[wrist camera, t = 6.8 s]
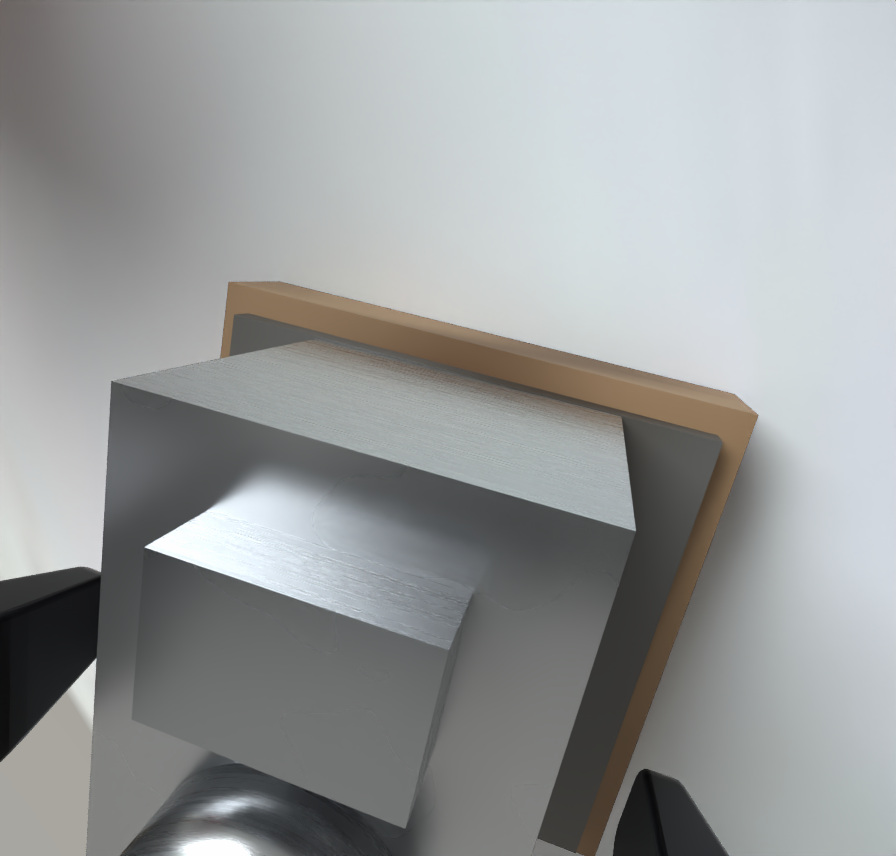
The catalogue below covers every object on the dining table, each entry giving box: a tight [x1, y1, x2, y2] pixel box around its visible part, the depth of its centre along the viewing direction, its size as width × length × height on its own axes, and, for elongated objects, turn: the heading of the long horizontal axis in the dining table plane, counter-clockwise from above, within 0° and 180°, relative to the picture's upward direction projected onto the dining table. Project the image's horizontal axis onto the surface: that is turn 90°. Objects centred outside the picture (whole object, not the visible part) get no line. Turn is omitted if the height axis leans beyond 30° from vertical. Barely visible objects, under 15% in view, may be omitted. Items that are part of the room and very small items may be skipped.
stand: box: [220, 282, 758, 856], centre depth 11 cm, size 8×8×2 cm
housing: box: [86, 339, 636, 856], centre depth 7 cm, size 4×7×5 cm, turn 168°
